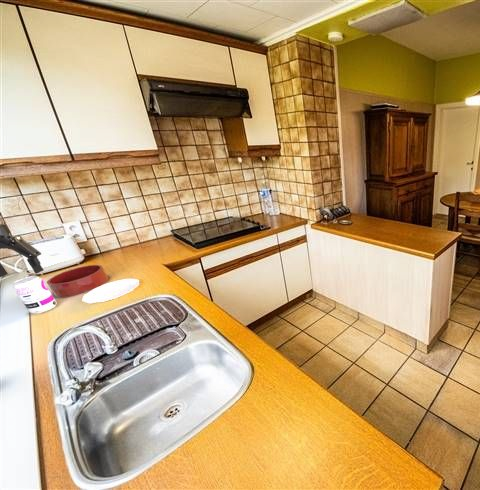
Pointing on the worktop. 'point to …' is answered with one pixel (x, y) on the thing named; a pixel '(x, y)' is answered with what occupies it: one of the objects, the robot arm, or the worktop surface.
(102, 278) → the red round shallow bowl
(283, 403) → the worktop surface
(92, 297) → the plate
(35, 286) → the supplement can
